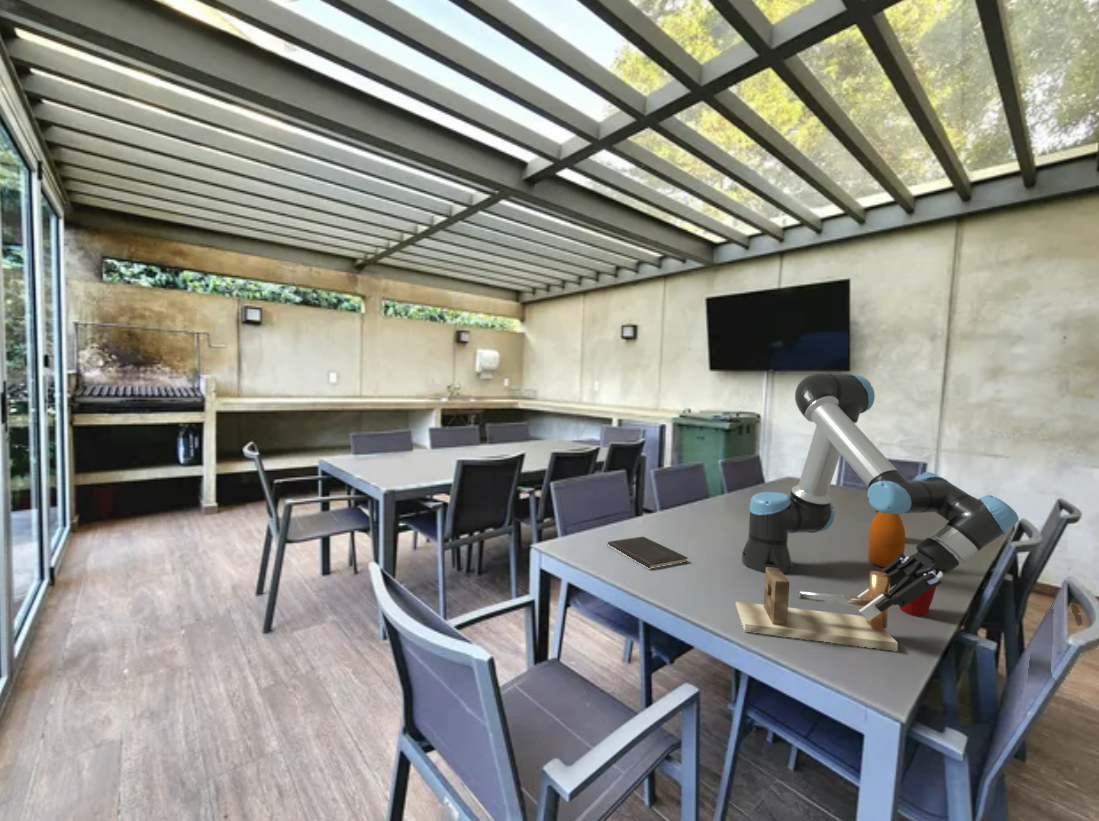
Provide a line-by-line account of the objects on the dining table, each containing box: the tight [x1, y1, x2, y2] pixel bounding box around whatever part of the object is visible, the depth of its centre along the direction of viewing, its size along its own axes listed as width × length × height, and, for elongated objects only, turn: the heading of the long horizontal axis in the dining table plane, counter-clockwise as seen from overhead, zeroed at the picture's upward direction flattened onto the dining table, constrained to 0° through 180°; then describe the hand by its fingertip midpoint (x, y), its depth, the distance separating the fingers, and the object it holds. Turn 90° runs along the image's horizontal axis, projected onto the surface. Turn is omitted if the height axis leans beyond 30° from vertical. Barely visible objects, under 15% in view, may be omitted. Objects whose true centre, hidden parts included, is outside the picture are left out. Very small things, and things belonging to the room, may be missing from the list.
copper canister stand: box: [734, 567, 899, 652], centre depth 113 cm, size 32×12×12 cm, turn 79°
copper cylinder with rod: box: [797, 570, 891, 630], centre depth 112 cm, size 19×4×12 cm, turn 79°
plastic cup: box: [895, 570, 944, 618], centre depth 124 cm, size 11×11×12 cm
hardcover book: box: [607, 536, 689, 568], centre depth 160 cm, size 16×23×2 cm
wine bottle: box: [867, 510, 906, 569], centre depth 157 cm, size 10×10×30 cm
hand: (859, 611), depth 111 cm, fingers closed on copper cylinder with rod, 4 cm apart
